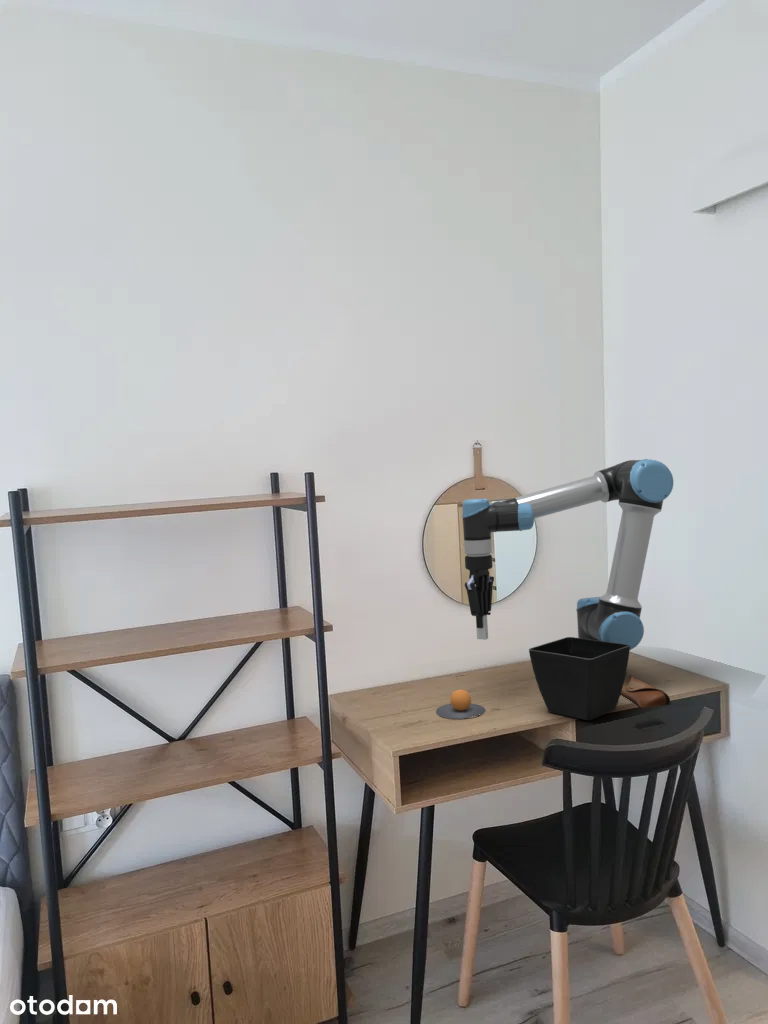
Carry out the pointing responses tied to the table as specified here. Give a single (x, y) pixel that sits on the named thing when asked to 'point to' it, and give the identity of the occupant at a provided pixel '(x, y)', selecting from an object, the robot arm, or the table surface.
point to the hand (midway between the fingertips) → (482, 638)
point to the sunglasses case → (643, 693)
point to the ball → (460, 700)
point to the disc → (452, 713)
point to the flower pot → (580, 675)
